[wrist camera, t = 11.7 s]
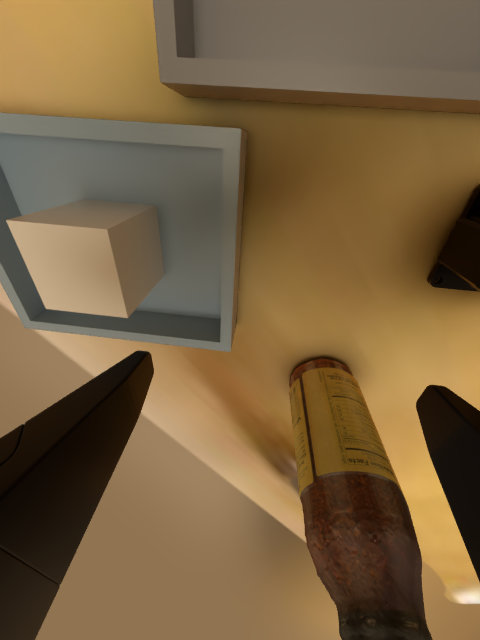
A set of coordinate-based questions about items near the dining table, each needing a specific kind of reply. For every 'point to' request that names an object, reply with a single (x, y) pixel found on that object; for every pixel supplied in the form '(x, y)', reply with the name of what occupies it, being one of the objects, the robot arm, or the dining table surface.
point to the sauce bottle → (354, 508)
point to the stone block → (92, 255)
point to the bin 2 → (324, 51)
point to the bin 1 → (140, 188)
